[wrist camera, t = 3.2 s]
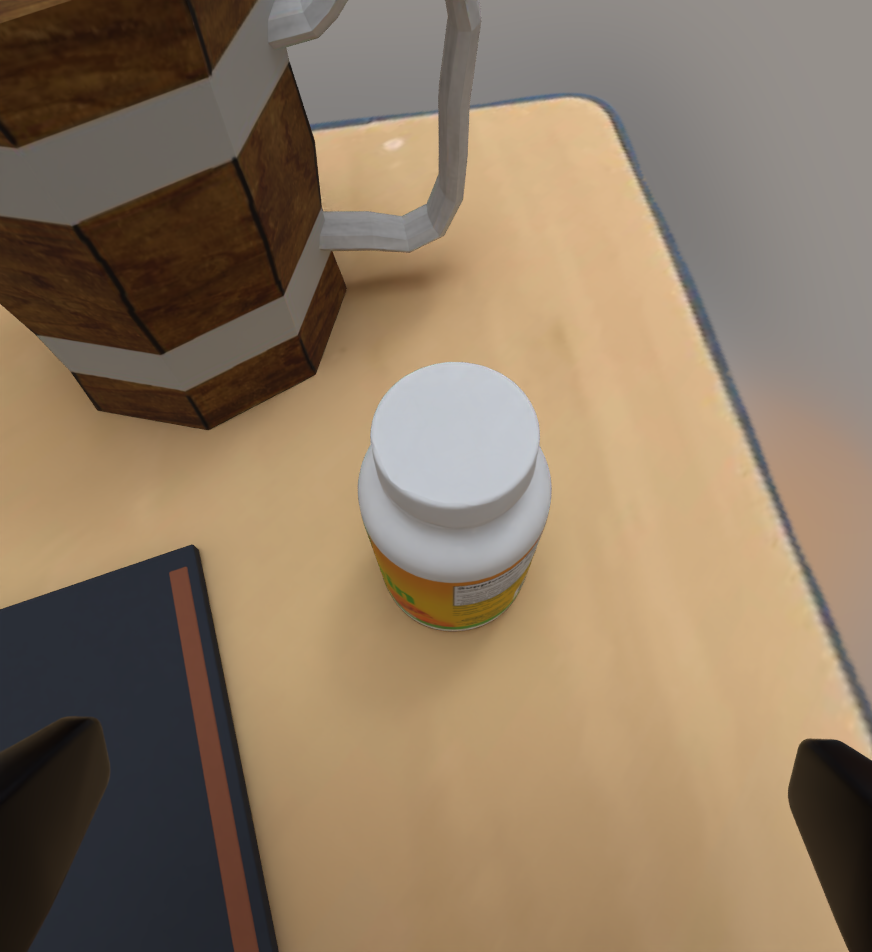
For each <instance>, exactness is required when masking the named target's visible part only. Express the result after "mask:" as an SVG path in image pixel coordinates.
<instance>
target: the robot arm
mask: <svg viewBox="0 0 872 952" xmlns="http://www.w3.org/2000/svg"><path fill="white" fill-rule="evenodd" d="M109 777H110V762H109V757H108V752H107V748H106V743H105V738H104V734H103V729H102V725H101V723H100V721H99V720H98V719H97V718H94V717H83V716H67V717H63V718H61V719H59V720H57V721H55V722H53V723H51V724H50V725H48V726H46V727H44V728H43V729H41V730H39V731H37V732H35V733H34V734H32V735H30V736H28V737H27V738H25V739H23V740H21V741H20V742H18V743H16V744H14V745H12V746H11V747H9V748H7V749H5V750H4V751H2V752H0V952H27V951H28V950H29V948H30V946H31V944H32V942H33V941H34V939H35V937H36V935H37V934H38V932H39V930H40V928H41V926H42V924H43V922H44V921H45V919H46V917H47V915H48V913H49V911H50V909H51V907H52V905H53V903H54V901H55V899H56V897H57V895H58V893H59V891H60V888H61V886H62V884H63V882H64V880H65V878H66V875H67V873H68V871H69V869H70V867H71V864H72V862H73V860H74V858H75V856H76V853H77V851H78V849H79V847H80V845H81V842H82V840H83V838H84V836H85V834H86V831H87V829H88V827H89V825H90V823H91V820H92V818H93V816H94V814H95V812H96V810H97V807H98V805H99V803H100V801H101V799H102V796H103V794H104V792H105V790H106V787H107V785H108V781H109ZM788 799H789V805H790V808H791V811H792V814H793V817H794V819H795V821H796V824H797V826H798V829H799V831H800V834H801V836H802V839H803V841H804V844H805V846H806V849H807V851H808V854H809V856H810V859H811V861H812V864H813V866H814V869H815V871H816V873H817V876H818V878H819V881H820V883H821V886H822V888H823V891H824V893H825V896H826V898H827V901H828V903H829V906H830V908H831V911H832V913H833V916H834V918H835V920H836V923H837V925H838V928H839V930H840V932H841V934H842V937H843V939H844V941H845V944H846V946H847V948H848V950H849V952H872V760H870V759H868V758H867V757H865V756H864V755H862V754H860V753H859V752H857V751H856V750H854V749H853V748H851V747H849V746H848V745H846V744H844V743H843V742H841V741H838V740H833V739H806V740H803V741H802V742H801V743H800V745H799V747H798V751H797V755H796V759H795V763H794V767H793V771H792V775H791V779H790V783H789V788H788Z"/></svg>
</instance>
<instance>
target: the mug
mask: <svg viewBox="0 0 872 952" xmlns="http://www.w3.org/2000/svg"><path fill="white" fill-rule="evenodd" d="M347 1H348V0H0V304H1V305H2V306H3V307H5V308H6V309H7V310H8V311H9V312H10V313H11V314H13V315H14V316H15V317H16V318H17V319H18V320H19V321H21V322H22V323H23V324H24V325H25V326H26V327H27V328H29V329H30V330H31V331H32V332H33V333H34V334H35V335H36V336H37V337H38V338H39V339H40V340H41V341H42V342H43V343H44V344H45V345H46V346H47V347H48V348H49V349H50V350H51V351H52V353H53V354H54V355H55V356H56V357H57V358H58V359H59V360H60V361H61V362H62V363H63V364H64V365H65V366H66V367H67V368H68V369H69V370H70V371H71V373H72V374H73V376H74V377H75V379H76V380H77V382H78V383H79V384H80V386H81V387H82V389H83V390H84V392H85V393H86V394H87V396H88V397H89V399H90V400H91V402H92V403H93V405H94V406H95V407H96V409H97V410H99V411H105V412H110V413H116V414H122V415H127V416H133V417H138V418H144V419H150V420H155V421H161V422H167V423H172V424H178V425H184V426H189V427H195V428H201V429H206V430H209V429H211V428H213V427H215V426H217V425H219V424H220V423H222V422H224V421H226V420H228V419H230V418H232V417H234V416H236V415H238V414H240V413H242V412H244V411H246V410H247V409H249V408H251V407H253V406H255V405H257V404H259V403H261V402H263V401H265V400H267V399H269V398H271V397H272V396H274V395H276V394H278V393H280V392H282V391H284V390H286V389H288V388H290V387H292V386H294V385H296V384H298V383H299V382H301V381H303V380H305V379H307V378H309V377H311V376H313V375H315V374H316V371H317V368H318V366H319V363H320V360H321V358H322V355H323V352H324V349H325V347H326V344H327V341H328V338H329V336H330V333H331V330H332V328H333V325H334V322H335V319H336V317H337V314H338V311H339V309H340V306H341V303H342V300H343V298H344V295H345V292H346V289H347V288H346V285H345V282H344V280H343V277H342V275H341V272H340V270H339V267H338V265H337V262H336V259H335V257H334V254H333V252H332V251H388V252H406V253H410V252H412V251H414V250H416V249H418V248H420V247H422V246H424V245H426V244H428V243H430V242H432V241H434V240H436V239H438V238H441V237H443V236H444V235H445V233H446V231H447V229H448V227H449V225H450V223H451V222H452V220H453V218H454V216H455V214H456V212H457V210H458V208H459V206H460V204H461V202H462V201H463V194H464V185H465V176H466V166H467V157H468V131H469V106H470V97H471V91H472V84H473V76H474V69H475V62H476V54H477V48H478V40H479V33H480V26H481V5H480V1H479V0H445V1H446V7H447V13H448V19H447V28H446V35H445V42H444V50H443V58H442V65H441V66H442V67H441V73H440V81H439V96H438V99H439V100H438V102H439V103H438V104H439V105H438V108H439V174H438V177H437V179H436V182H435V184H434V187H433V189H432V192H431V194H430V197H429V199H428V202H427V204H425V205H423V206H421V207H419V208H417V209H415V210H413V211H411V212H409V213H407V214H405V215H403V216H396V215H389V214H382V213H375V212H369V211H348V212H323V210H322V205H321V195H320V185H319V176H318V166H317V157H316V147H315V140H314V137H313V134H312V131H311V127H310V124H309V121H308V118H307V115H306V112H305V109H304V106H303V102H302V99H301V96H300V93H299V90H298V87H297V84H296V80H295V78H294V74H293V71H292V68H291V65H290V62H289V58H288V53H287V49H286V47H289V46H292V45H296V44H299V43H303V42H306V41H310V40H313V39H316V38H319V37H320V36H321V35H322V34H323V33H324V32H325V31H326V30H327V29H328V28H329V27H330V25H331V24H332V23H333V22H334V21H335V20H336V19H337V18H338V16H339V14H340V13H341V11H342V9H343V8H344V6H345V4H346V3H347Z"/></svg>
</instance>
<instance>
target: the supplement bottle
mask: <svg viewBox="0 0 872 952" xmlns="http://www.w3.org/2000/svg"><path fill="white" fill-rule="evenodd" d="M370 438H371V445H370V447H369V448H368V450H367V452H366V454H365V457H364V460H363V462H362V465H361V469H360V474H359V480H358V500H359V505H360V510H361V515H362V519H363V522H364V525H365V529H366V531H367V534H368V536H369V539H370V542H371V545H372V548H373V550H374V553H375V556H376V559H377V562H378V564H379V567H380V570H381V573H382V576H383V579H384V582H385V584H386V586H387V589H388V591H389V593H390V595H391V596H392V598H393V599H394V601H395V602H396V604H397V605H398V606H399V607H400V608H401V609H402V610H403V611H404V612H405V613H406V614H407V615H408V616H410V617H411V618H412V619H414V620H416V621H417V622H419V623H421V624H423V625H425V626H428V627H430V628H434V629H437V630H443V631H464V630H469V629H474V628H477V627H480V626H482V625H485V624H487V623H489V622H491V621H493V620H494V619H496V618H497V617H499V616H500V615H501V614H502V613H503V612H504V611H505V610H506V609H507V608H508V607H509V606H510V605H511V604H512V602H513V601H514V599H515V598H516V596H517V595H518V593H519V591H520V589H521V587H522V585H523V583H524V580H525V578H526V575H527V572H528V569H529V567H530V564H531V561H532V558H533V556H534V553H535V551H536V548H537V545H538V542H539V540H540V537H541V535H542V532H543V529H544V527H545V524H546V521H547V517H548V513H549V508H550V503H551V490H552V488H551V477H550V472H549V468H548V464H547V461H546V459H545V456H544V454H543V452H542V450H541V448H540V446H539V442H540V430H539V423H538V419H537V416H536V413H535V410H534V408H533V406H532V404H531V402H530V401H529V399H528V398H527V396H526V395H525V393H524V392H523V391H522V390H521V389H520V388H519V387H518V386H517V385H516V384H515V383H514V382H513V381H511V380H510V379H509V378H507V377H506V376H504V375H503V374H501V373H499V372H497V371H495V370H492V369H490V368H487V367H485V366H481V365H477V364H472V363H466V362H445V363H439V364H433V365H430V366H427V367H423V368H420V369H418V370H416V371H414V372H412V373H410V374H408V375H406V376H405V377H403V378H402V379H400V380H399V381H398V382H397V383H396V384H394V385H393V386H392V387H391V388H390V389H389V390H388V392H387V393H386V394H385V395H384V397H383V398H382V400H381V402H380V403H379V405H378V407H377V409H376V411H375V414H374V417H373V421H372V426H371V436H370Z"/></svg>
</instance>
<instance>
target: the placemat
mask: <svg viewBox="0 0 872 952" xmlns="http://www.w3.org/2000/svg"><path fill="white" fill-rule="evenodd" d="M67 716H83V717H94V718H97V719H98V720H99V721H100V723H101V725H102V729H103V734H104V738H105V743H106V748H107V752H108V757H109V762H110V777H109V781H108V785H107V787H106V790H105V792H104V794H103V796H102V799H101V801H100V803H99V805H98V807H97V810H96V812H95V814H94V816H93V818H92V820H91V823H90V825H89V827H88V829H87V831H86V834H85V836H84V838H83V840H82V842H81V845H80V847H79V849H78V851H77V853H76V856H75V858H74V860H73V862H72V864H71V867H70V869H69V871H68V873H67V875H66V878H65V880H64V882H63V884H62V886H61V888H60V891H59V893H58V895H57V897H56V899H55V901H54V903H53V905H52V907H51V909H50V911H49V913H48V915H47V917H46V919H45V921H44V922H43V924H42V926H41V928H40V930H39V932H38V934H37V935H36V937H35V939H34V941H33V942H32V944H31V946H30V948H29V950H28V951H27V952H278V946H277V941H276V936H275V931H274V926H273V921H272V916H271V911H270V906H269V901H268V896H267V891H266V886H265V881H264V876H263V871H262V866H261V861H260V856H259V851H258V846H257V841H256V836H255V831H254V826H253V821H252V816H251V811H250V806H249V801H248V796H247V791H246V786H245V781H244V776H243V771H242V766H241V761H240V755H239V750H238V745H237V740H236V735H235V730H234V725H233V720H232V715H231V710H230V705H229V700H228V695H227V690H226V685H225V680H224V675H223V670H222V665H221V660H220V655H219V650H218V645H217V640H216V635H215V630H214V625H213V620H212V615H211V610H210V605H209V600H208V595H207V590H206V585H205V580H204V575H203V570H202V564H201V559H200V554H199V550H198V549H197V548H196V547H195V546H194V545H189V546H186V547H183V548H180V549H177V550H174V551H171V552H168V553H165V554H163V555H160V556H157V557H154V558H151V559H148V560H145V561H142V562H139V563H136V564H133V565H130V566H127V567H124V568H121V569H118V570H115V571H112V572H109V573H107V574H104V575H101V576H98V577H95V578H92V579H89V580H86V581H83V582H80V583H77V584H74V585H71V586H68V587H65V588H62V589H59V590H56V591H53V592H50V593H48V594H45V595H42V596H39V597H36V598H33V599H30V600H27V601H24V602H21V603H18V604H15V605H12V606H9V607H6V608H3V609H0V752H2V751H4V750H5V749H7V748H9V747H11V746H12V745H14V744H16V743H18V742H20V741H21V740H23V739H25V738H27V737H28V736H30V735H32V734H34V733H35V732H37V731H39V730H41V729H43V728H44V727H46V726H48V725H50V724H51V723H53V722H55V721H57V720H59V719H61V718H63V717H67Z"/></svg>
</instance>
